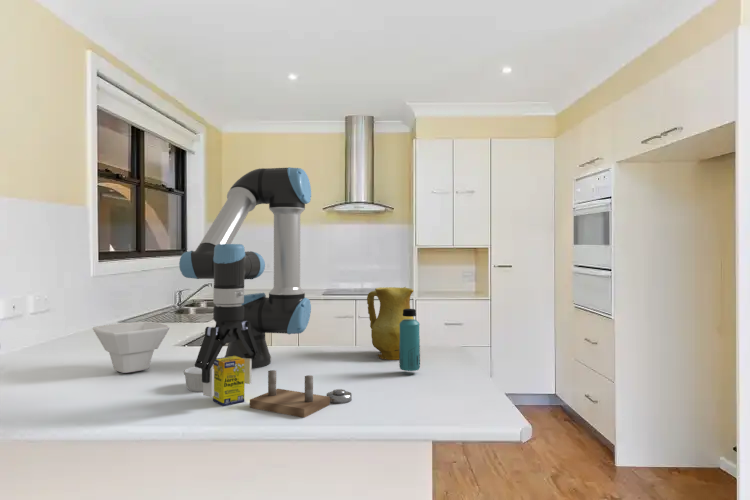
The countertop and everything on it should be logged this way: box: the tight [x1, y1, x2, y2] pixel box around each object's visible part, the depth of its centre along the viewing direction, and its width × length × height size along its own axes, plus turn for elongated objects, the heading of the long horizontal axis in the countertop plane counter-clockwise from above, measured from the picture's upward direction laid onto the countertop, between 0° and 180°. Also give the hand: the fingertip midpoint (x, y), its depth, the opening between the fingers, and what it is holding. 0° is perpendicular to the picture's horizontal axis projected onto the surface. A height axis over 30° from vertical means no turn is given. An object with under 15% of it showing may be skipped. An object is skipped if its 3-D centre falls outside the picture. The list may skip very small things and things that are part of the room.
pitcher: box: [366, 286, 414, 361], centre depth 188 cm, size 17×19×25 cm
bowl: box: [92, 321, 170, 374], centre depth 164 cm, size 19×19×14 cm
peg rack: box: [249, 369, 331, 418], centre depth 129 cm, size 16×11×8 cm
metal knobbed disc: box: [326, 388, 353, 405], centre depth 135 cm, size 6×6×2 cm
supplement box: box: [212, 356, 246, 407], centre depth 133 cm, size 6×6×11 cm
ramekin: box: [183, 366, 213, 393], centre depth 146 cm, size 11×11×5 cm
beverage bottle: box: [398, 308, 421, 372], centre depth 162 cm, size 6×7×20 cm
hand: (228, 389), depth 133 cm, fingers open, 13 cm apart
